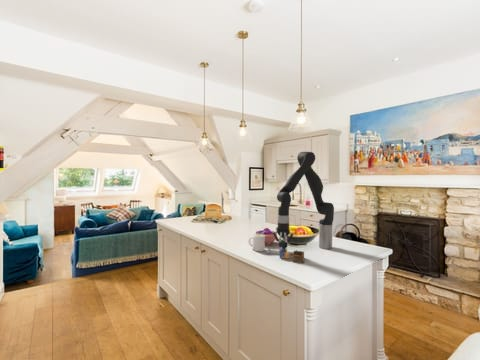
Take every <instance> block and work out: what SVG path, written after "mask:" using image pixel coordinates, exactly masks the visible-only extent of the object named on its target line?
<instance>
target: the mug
mask: <svg viewBox="0 0 480 360" xmlns="http://www.w3.org/2000/svg"><path fill="white" fill-rule="evenodd" d="M248 238H249V239H248V244H249V246H250V247H252V251H254V252H263V251H265V249H266V248H265V247H266V246H265V245H266V244H265V235H262V234H256V233H255V234H253V235H252V236H250V237H248ZM251 240H252V241H251Z"/></svg>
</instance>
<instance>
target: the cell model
mask: <svg viewBox="0 0 480 360" xmlns="http://www.w3.org/2000/svg"><path fill="white" fill-rule="evenodd" d="M274 232H276V231H274V230H271V229H270V228H269V227H265V228H263V230H257V231H255V234H262V235H265V245H271V244H273V243H274V242H275V241H276V239H275V236H274V234H273V233H274Z"/></svg>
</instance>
